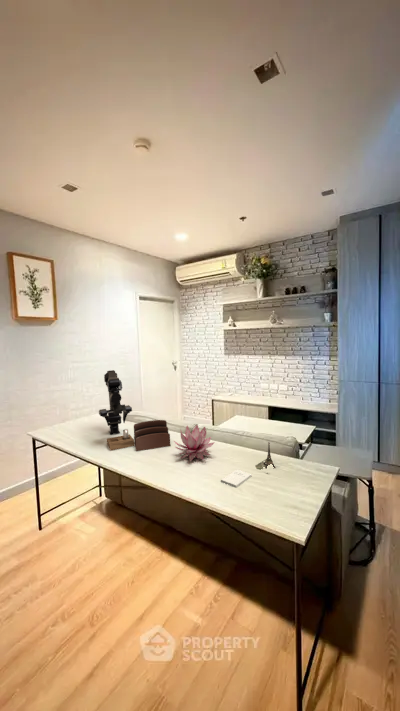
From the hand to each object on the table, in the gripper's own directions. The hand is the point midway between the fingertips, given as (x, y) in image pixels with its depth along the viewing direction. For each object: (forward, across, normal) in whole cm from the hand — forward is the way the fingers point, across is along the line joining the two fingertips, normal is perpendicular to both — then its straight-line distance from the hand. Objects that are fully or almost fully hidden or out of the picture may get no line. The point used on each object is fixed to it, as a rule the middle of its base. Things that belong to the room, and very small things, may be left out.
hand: (116, 424), depth 181 cm
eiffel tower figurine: (+11, +56, -73) cm, 93 cm away
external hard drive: (+11, +35, -76) cm, 84 cm away
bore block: (+12, +1, -5) cm, 12 cm away
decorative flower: (+11, +31, -44) cm, 54 cm away
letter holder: (+12, +17, -16) cm, 26 cm away
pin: (+11, +4, -5) cm, 13 cm away
